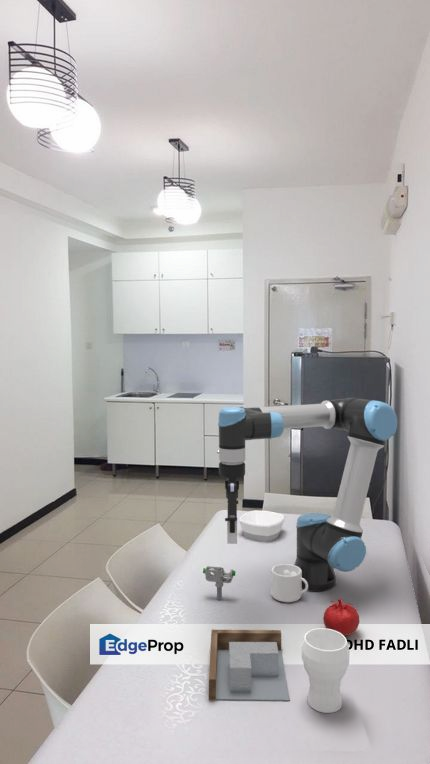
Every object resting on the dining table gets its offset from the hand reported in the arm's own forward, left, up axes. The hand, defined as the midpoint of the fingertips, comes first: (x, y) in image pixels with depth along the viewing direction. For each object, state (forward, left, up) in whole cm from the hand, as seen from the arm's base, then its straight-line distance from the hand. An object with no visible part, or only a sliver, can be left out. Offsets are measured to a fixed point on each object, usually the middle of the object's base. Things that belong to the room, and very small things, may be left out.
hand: (232, 534), depth 157 cm
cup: (-21, +34, -27) cm, 48 cm away
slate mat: (+4, +14, -27) cm, 30 cm away
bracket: (-5, +23, -26) cm, 35 cm away
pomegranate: (-31, +3, -27) cm, 41 cm away
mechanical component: (+4, -15, -27) cm, 31 cm away
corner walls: (+4, +14, -27) cm, 30 cm away
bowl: (-13, -68, -27) cm, 74 cm away
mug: (-19, -17, -27) cm, 37 cm away
